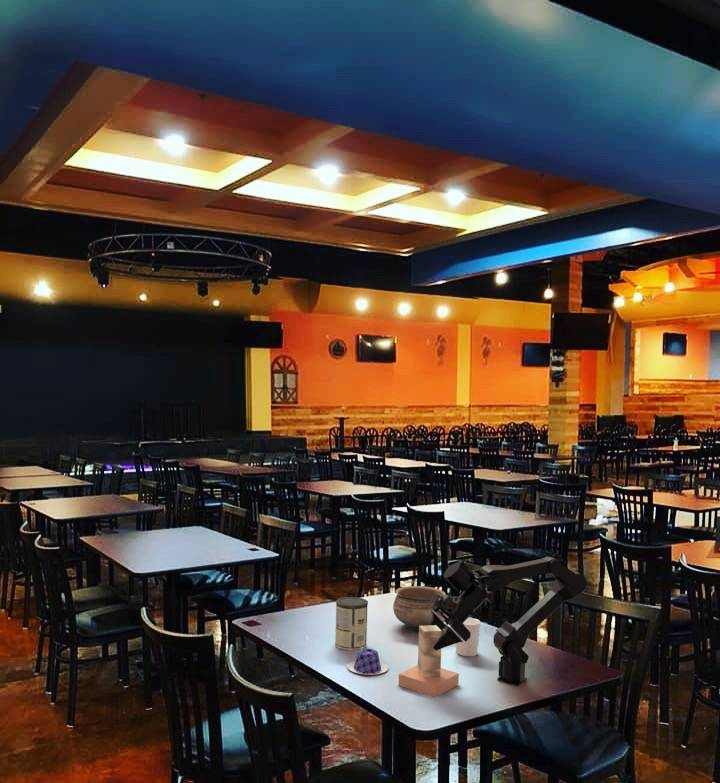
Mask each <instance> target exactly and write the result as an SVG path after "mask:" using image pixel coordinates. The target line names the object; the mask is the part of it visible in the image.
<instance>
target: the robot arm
mask: <svg viewBox="0 0 720 783" xmlns="http://www.w3.org/2000/svg"><path fill="white" fill-rule="evenodd" d="M548 574H551V575H552V576H553V577H554V581H553V584H552V585H551V586H552V587H551V589H550V590H549V591H548V592H547V593H546V594H544V596H542V597H541V599H539V600H538V601H537V602H536V603H535V604H534V605H533V606H532V607H530V608H529V609H528V610H527V612H526V613H524V614H523V615H522V616H521V617H520V618H519V619H518V620H517V621H515V622H512V623H510V622H508V620H507V621H505V622H503V624H502V625H501V626H500V627H499V628H497V629H495V631H496V632H495V633H494V635H493V641H492V642H493V645H494V647H495V649H497V650H498V652H499V654H500V655H502V656H500V661H498V677H497V678H496V679H497V681H499V682H502V683H506V684H508V685H512V686H515V687H519V686H521V685H522V684H524V683H525V682H527V680H528V678H527V677H526V664H527V663H528V661H529V656H530V655H528V654H527V653H526V651H525V650H524V649H523V648H524V647H525V646H526V643H527V640H528V637H529V636H530V635H531V633H532V632H533V631H535V630H536V629H537V628H538V627H539V626H540V625H541V624H542V623H543V622H545V620H546V619H548V618H549V616H550V615H552V614H553V612H555V611H556V610H557V609H558V608H559V607H560V606H561V605H562V604H563V603H564V602H568V601H570V600H573V599H575V598H577V597H578V596H580V595H581V594H582V593H584V592H585V591H586V590H587V588H588V585H587V584H588V581H587V578H586V577H585V575H583V574H581V573H580V572H578V571H575V570H573V569H571V568H567V567H566V566H565V565H564V564H563V563H560V561H559V560H557V559H556V558H554V557H551V556H545V557H543V558H539V559H535V560H530V561H524V562H520V563H515V564H511V565H502V564H491V565H490V564H487V565H483V566H482V567H481V568H480V569H474V570H473V569H472V570H470V569H469V568H468V566H467V564H466V563H465V562H464V561H463V560H461V559H459V561H458V562H455V563H453V564H452V565H448V567H447V568H446V570H445V571H444V573H443V578H444V579H445V580H446V581H447V582H448V583H449V584H450V585H451V586H452V587H453V589H454V590H456V591H457V592H462V593H461V594H460V595H459V596H457V595H455V596H453V597H452V596H449V595H447V594H446V595H445V596H444V595H442V594H440V593H438V592H436V591H435V593H434V595H433V597H432V600H431V602H433V603H434V605H433V606H432V607H431V608H432V609H433V610H434V612H433V611H432V610H431V613H432V620H431V622H430V624H429V625H436V626H437V627H438V628H439V629H440V630H441V631H443V630H444V632H442V636H441V637H440V638H439V640H438V641H437V642H436V644H435V645H434V647H433V648H434V649H435V650H436V651H437V650H439V649H441V650H442V649H444V648H446V647H447V648H448V647H449V646H452V645H456V643H459V642H461V643H462V642H463V641H462V640H461V639H463V640H464V641H465V642H466V641H467V640H468V639H469V638H470V637H471V632H470V631H469V630H468V629H467V628H466V627H465V625H464V624H463V623H464V622H465V621H466V620H467V619H468V618H470V617H471V618H474V616H476V614H475V613H474V612H475V611H476V610H477V609H478V608H479V607H480V606H481V605H482V604H483V603H484V602H485V600H487V601H488V602H489V603H491V604H493V603H494V593H493V592H492V591H498V590H501V589H503V588H506V587H508V586H509V585H510V584H511V583H513V582H516V581H520V580H525V579H530V578H534V577H540V576H544V575H548ZM476 582H478V585H477V584H476ZM484 586H485V587H486V588H488V589H489V591H488V590H487V589H486V588H485V587H484Z"/></svg>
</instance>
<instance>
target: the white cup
mask: <svg viewBox="0 0 720 783" xmlns="http://www.w3.org/2000/svg"><path fill="white" fill-rule="evenodd" d="M463 624H464V625H465V627H466V628H467V629H468V630H469V631H470V632H471V637H470V638H469V639H468V640H467V641H466V642H465V641H464V640H463V639H461V640H462V641H463V642H462V643H461V642H459V643H456V644H455V653H456V654H458V655H460V656H463V657H474V656H477V655H478V652H479V651H478V650H479V649H478V647H479V641H480V631H481V630H480V628H481V621H480V620H479V619H477V618H474V617H468V619H467V620H466V621H465V622H464V623H463Z"/></svg>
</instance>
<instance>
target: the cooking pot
mask: <svg viewBox="0 0 720 783" xmlns="http://www.w3.org/2000/svg"><path fill="white" fill-rule="evenodd" d="M435 591H436V592H438V593H440V594H442V595H444V596H446V595H447V594H446V592H445V591H444V590H441V589H439V588H435V587H431V586H424V585H422V586H421V585H412V586H411V585H410V586H409V585H408V586H403V587H399V588H397V589H396V590H395V593H396V596H395V598H394V601H393V604H392V605H393V606H392V610H393V613H394V615H395V617H396V619H398V621H399V622H401V623H402V624H404V625H405V626H407V627H409V628H410V629H411V630H414V631H419V626H429V624H430V622H431V620H432V613H431V610H432V611H433V612H434V610H433V609H432V608H431V607H432V606H433V605H434V603H433V602H431V600H432V597H433V595H434V593H435Z"/></svg>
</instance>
